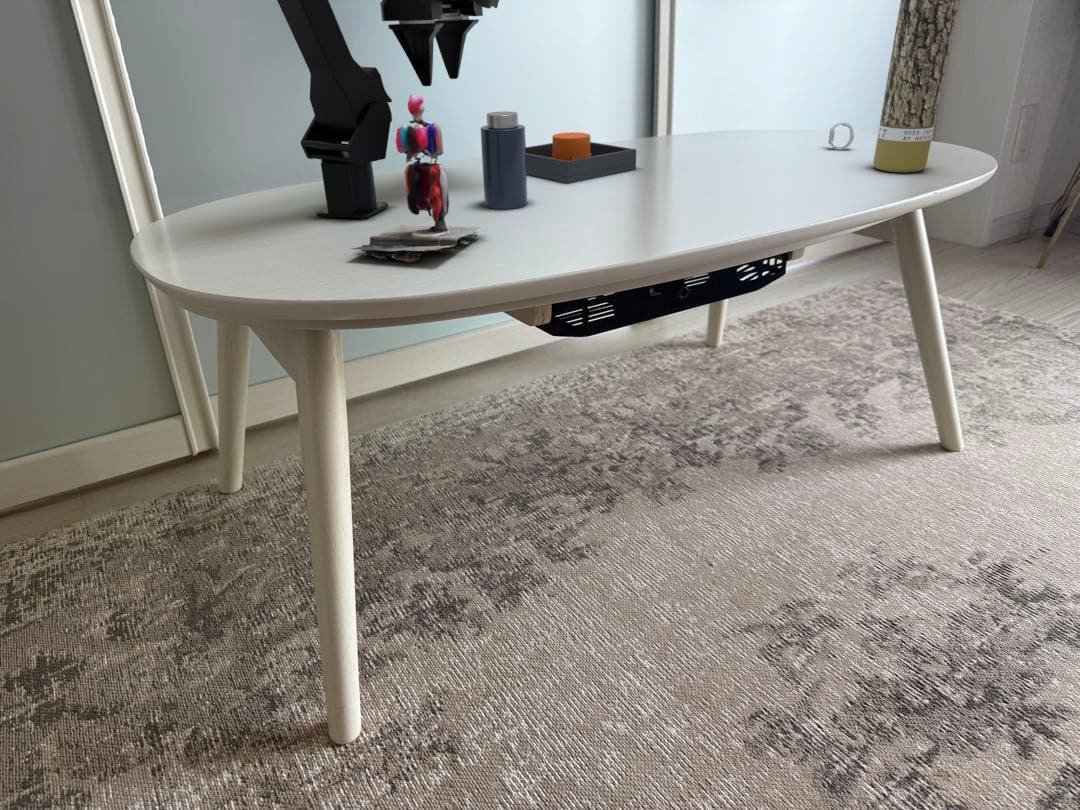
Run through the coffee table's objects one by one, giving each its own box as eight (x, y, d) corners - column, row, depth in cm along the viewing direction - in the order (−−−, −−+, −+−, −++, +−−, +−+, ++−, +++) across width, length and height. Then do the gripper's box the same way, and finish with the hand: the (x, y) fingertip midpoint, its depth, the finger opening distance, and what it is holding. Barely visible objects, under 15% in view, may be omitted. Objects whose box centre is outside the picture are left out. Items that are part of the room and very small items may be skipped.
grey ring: (852, 148, 123) (855, 121, 121) (852, 150, 121) (855, 123, 119) (827, 148, 124) (831, 121, 122) (827, 150, 122) (830, 123, 121)
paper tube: (929, 166, 109) (970, -39, 98) (920, 175, 104) (963, -40, 92) (878, 162, 112) (912, -37, 101) (867, 171, 107) (902, -38, 96)
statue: (402, 243, 85) (392, 96, 80) (481, 247, 83) (477, 94, 77) (349, 260, 76) (334, 94, 70) (437, 265, 73) (428, 92, 68)
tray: (567, 183, 105) (567, 162, 104) (507, 170, 114) (506, 150, 113) (636, 169, 112) (636, 149, 111) (574, 157, 122) (574, 139, 120)
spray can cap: (595, 165, 111) (595, 136, 109) (559, 169, 110) (559, 139, 108) (582, 159, 116) (582, 131, 114) (548, 162, 115) (547, 133, 113)
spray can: (520, 210, 92) (517, 116, 88) (478, 208, 94) (473, 116, 89) (532, 200, 97) (529, 110, 92) (492, 198, 98) (488, 110, 93)
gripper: (466, -68, 82) (476, 90, 90) (517, -59, 98) (522, 75, 106) (371, -63, 85) (387, 90, 92) (435, -55, 101) (445, 75, 108)
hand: (441, 82), depth 100 cm, fingers open, 9 cm apart
